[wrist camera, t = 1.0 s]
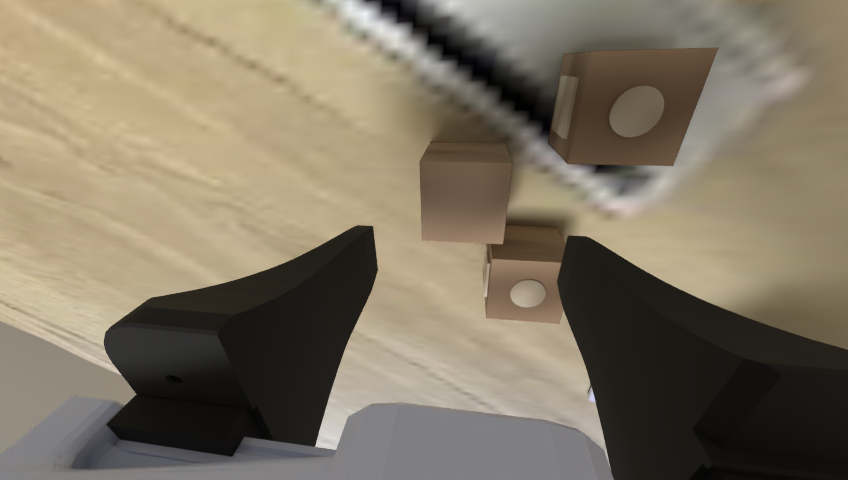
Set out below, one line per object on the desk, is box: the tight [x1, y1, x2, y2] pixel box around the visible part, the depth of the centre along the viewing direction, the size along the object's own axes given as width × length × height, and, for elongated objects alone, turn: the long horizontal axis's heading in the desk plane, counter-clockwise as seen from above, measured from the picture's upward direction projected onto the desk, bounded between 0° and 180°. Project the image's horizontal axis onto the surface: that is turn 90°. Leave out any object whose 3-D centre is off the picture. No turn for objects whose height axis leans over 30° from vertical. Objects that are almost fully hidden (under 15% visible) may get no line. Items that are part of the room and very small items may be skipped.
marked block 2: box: [483, 225, 566, 324], centre depth 20 cm, size 4×5×5 cm
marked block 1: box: [548, 48, 718, 166], centre depth 15 cm, size 4×5×5 cm
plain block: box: [420, 142, 513, 244], centre depth 18 cm, size 4×4×4 cm
